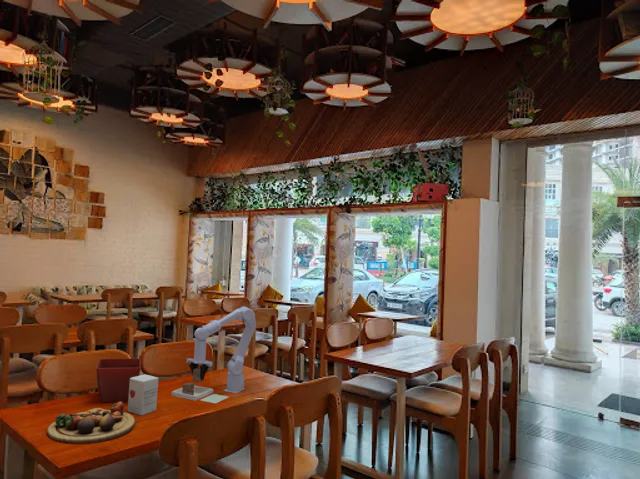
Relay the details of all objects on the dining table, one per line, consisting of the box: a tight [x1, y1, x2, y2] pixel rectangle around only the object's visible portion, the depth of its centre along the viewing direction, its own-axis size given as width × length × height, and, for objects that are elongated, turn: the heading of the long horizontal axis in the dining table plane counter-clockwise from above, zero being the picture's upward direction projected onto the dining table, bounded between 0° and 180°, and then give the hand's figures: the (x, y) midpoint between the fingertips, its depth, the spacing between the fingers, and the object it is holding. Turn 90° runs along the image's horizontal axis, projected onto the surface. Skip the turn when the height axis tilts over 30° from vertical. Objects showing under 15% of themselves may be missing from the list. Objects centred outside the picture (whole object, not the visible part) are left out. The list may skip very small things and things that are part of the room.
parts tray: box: [171, 384, 214, 401], centre depth 245 cm, size 15×14×2 cm
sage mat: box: [200, 393, 229, 404], centre depth 240 cm, size 12×9×1 cm
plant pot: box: [96, 358, 142, 403], centre depth 234 cm, size 19×19×17 cm
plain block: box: [181, 382, 195, 395], centre depth 241 cm, size 4×4×6 cm
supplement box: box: [127, 374, 160, 416], centre depth 218 cm, size 9×9×15 cm
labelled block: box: [192, 367, 205, 383], centre depth 249 cm, size 4×4×6 cm
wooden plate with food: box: [46, 401, 136, 444], centre depth 196 cm, size 32×32×8 cm
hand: (198, 378), depth 249 cm, fingers closed on labelled block, 4 cm apart
